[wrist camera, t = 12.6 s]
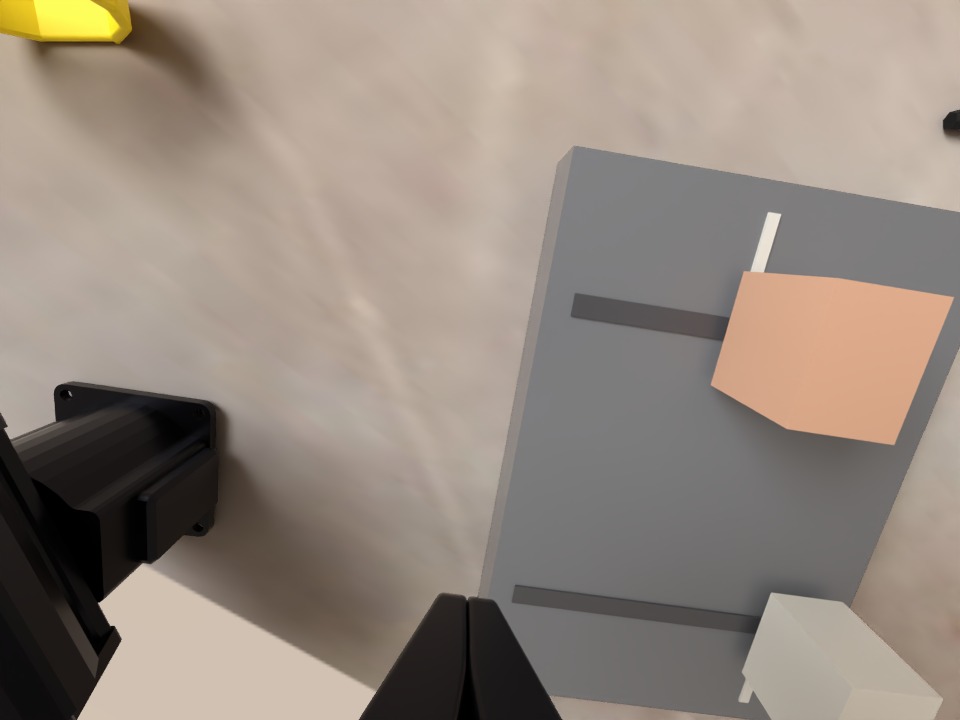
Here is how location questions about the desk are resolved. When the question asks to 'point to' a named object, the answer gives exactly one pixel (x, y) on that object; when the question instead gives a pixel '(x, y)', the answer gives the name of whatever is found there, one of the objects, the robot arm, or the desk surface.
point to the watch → (66, 20)
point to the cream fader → (830, 666)
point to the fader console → (686, 430)
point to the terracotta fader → (828, 352)
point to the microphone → (952, 120)
